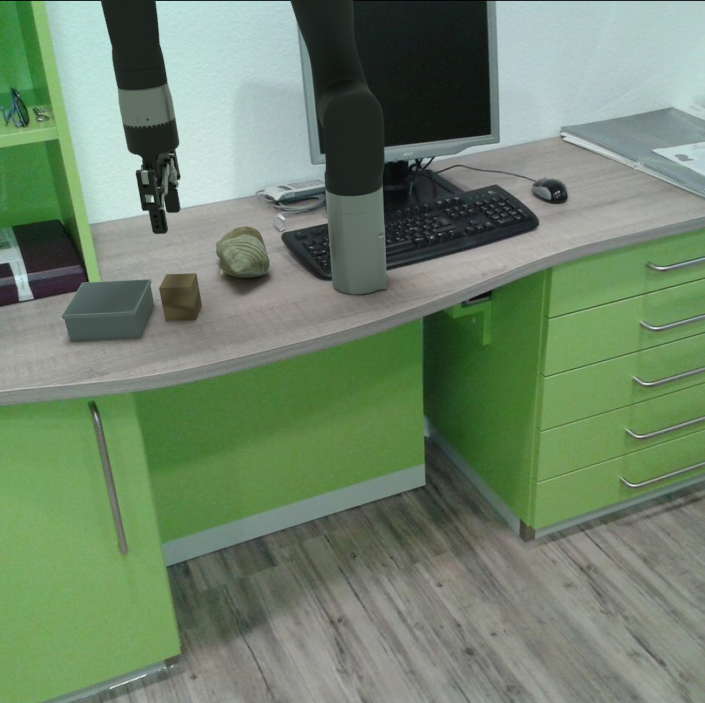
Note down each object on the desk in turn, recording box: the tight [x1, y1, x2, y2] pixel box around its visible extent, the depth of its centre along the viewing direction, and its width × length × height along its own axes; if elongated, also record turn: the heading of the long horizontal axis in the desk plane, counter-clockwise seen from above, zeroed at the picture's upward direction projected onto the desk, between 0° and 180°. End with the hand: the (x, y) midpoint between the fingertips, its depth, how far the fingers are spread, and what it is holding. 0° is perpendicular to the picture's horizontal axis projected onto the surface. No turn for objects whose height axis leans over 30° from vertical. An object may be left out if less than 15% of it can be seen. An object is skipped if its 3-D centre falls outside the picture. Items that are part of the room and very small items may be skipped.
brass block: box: [158, 272, 203, 322], centre depth 134 cm, size 5×5×6 cm
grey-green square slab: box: [61, 278, 155, 342], centre depth 133 cm, size 11×11×5 cm
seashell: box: [215, 226, 270, 279], centre depth 146 cm, size 14×9×10 cm
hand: (167, 222), depth 127 cm, fingers open, 8 cm apart
